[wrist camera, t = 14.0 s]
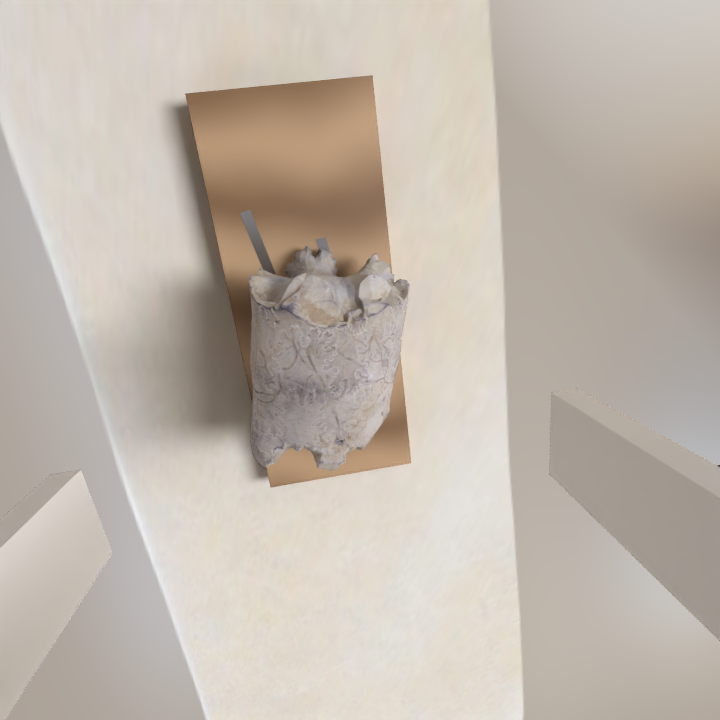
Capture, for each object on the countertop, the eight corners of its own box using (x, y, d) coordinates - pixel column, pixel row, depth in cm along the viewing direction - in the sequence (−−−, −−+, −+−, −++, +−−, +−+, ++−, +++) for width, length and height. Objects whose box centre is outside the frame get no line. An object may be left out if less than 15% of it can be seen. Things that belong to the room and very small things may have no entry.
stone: (257, 431, 26) (240, 491, 20) (261, 243, 23) (243, 240, 17) (376, 434, 27) (397, 492, 21) (395, 255, 24) (427, 258, 18)
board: (193, 103, 22) (185, 93, 21) (368, 86, 23) (372, 75, 22) (272, 475, 29) (270, 487, 27) (406, 452, 30) (411, 463, 28)
